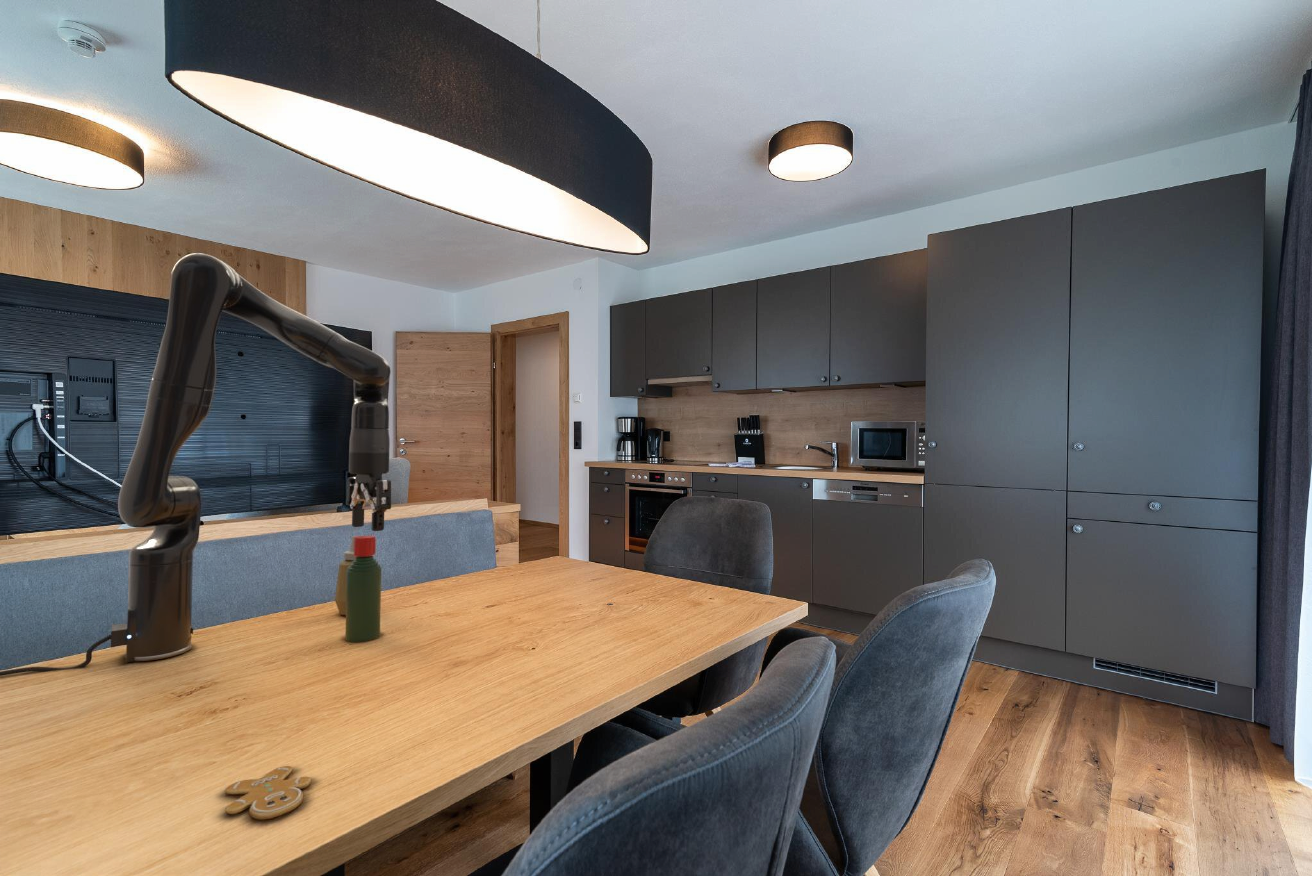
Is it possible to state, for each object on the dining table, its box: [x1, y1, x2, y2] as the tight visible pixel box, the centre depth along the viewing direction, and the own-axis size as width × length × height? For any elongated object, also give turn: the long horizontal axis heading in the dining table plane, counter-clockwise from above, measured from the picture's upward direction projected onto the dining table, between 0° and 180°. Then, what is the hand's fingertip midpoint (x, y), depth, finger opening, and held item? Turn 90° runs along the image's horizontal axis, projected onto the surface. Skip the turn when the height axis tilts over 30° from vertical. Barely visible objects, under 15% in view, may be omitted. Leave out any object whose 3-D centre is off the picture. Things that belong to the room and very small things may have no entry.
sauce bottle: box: [344, 555, 382, 643], centre depth 120 cm, size 6×6×20 cm
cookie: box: [224, 765, 312, 820], centre depth 65 cm, size 8×1×10 cm
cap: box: [354, 535, 377, 557], centre depth 120 cm, size 4×4×4 cm
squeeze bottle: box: [334, 535, 358, 616], centre depth 137 cm, size 8×8×18 cm
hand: (367, 528), depth 120 cm, fingers open, 8 cm apart
